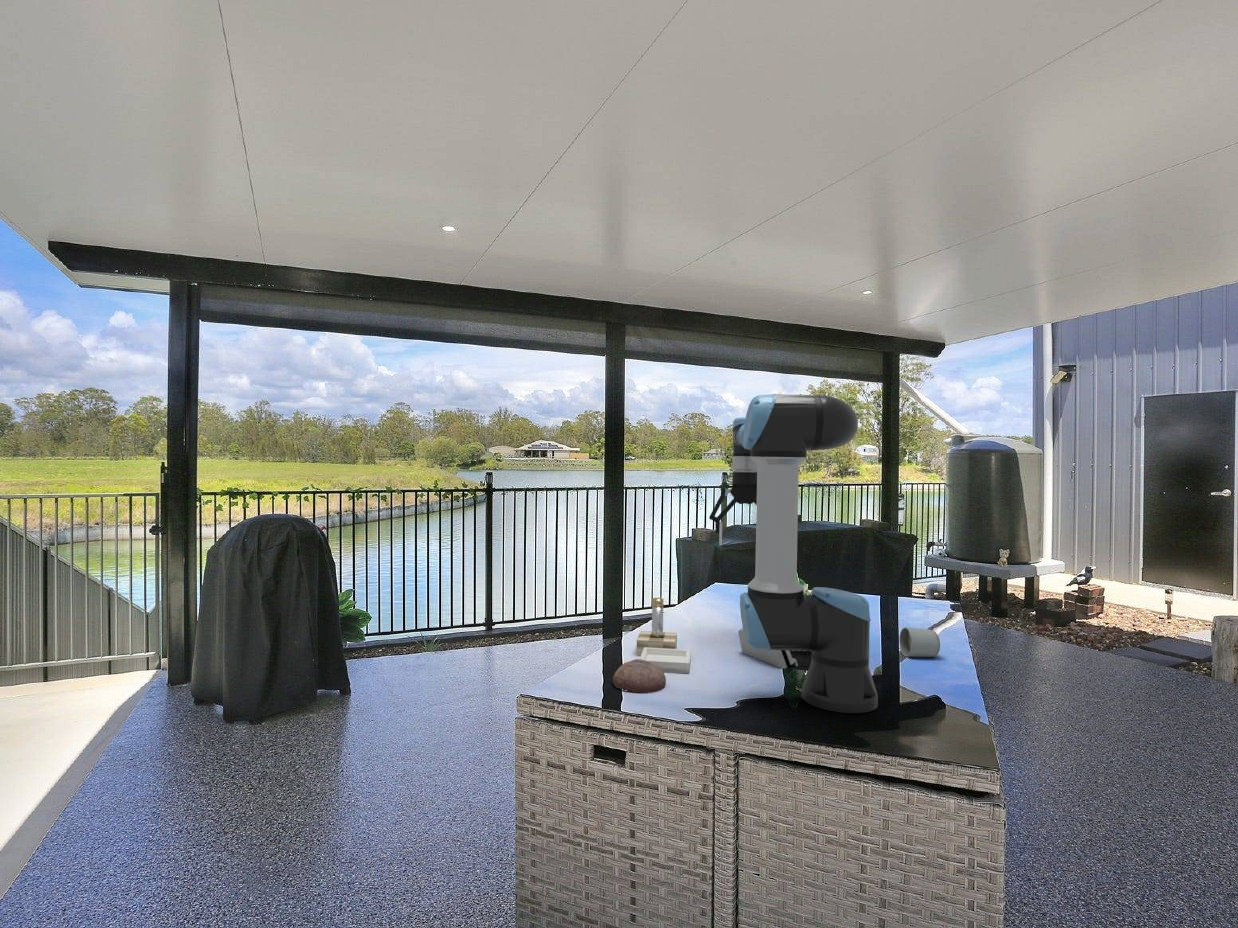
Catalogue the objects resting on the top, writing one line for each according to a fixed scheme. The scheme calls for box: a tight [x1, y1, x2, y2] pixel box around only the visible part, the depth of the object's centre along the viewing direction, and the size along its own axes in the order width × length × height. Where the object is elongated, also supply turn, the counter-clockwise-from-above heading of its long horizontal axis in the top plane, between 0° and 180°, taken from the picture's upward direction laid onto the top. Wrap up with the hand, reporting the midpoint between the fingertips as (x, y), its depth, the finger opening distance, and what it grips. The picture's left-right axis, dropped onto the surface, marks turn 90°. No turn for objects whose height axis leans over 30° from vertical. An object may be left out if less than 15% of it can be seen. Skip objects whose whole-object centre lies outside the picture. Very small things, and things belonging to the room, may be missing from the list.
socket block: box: [636, 630, 678, 657], centre depth 175 cm, size 10×10×4 cm
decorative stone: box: [612, 658, 667, 693], centre depth 148 cm, size 12×12×6 cm
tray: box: [639, 647, 691, 675], centre depth 163 cm, size 12×12×2 cm
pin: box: [651, 597, 664, 638], centre depth 175 cm, size 3×3×14 cm
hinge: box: [737, 627, 799, 670], centre depth 169 cm, size 17×5×10 cm, turn 27°
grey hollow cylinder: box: [898, 626, 941, 658], centre depth 176 cm, size 11×8×8 cm
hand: (744, 545), depth 187 cm, fingers open, 13 cm apart
